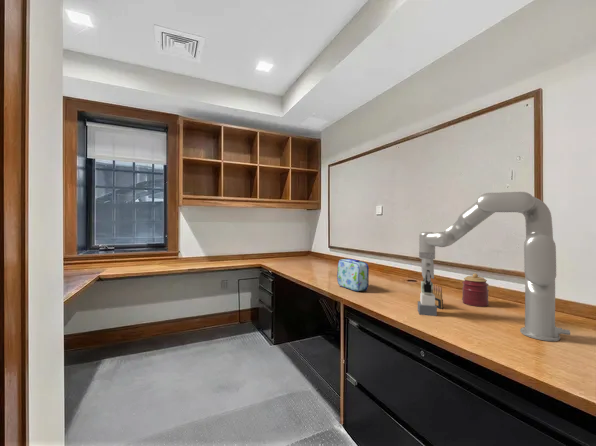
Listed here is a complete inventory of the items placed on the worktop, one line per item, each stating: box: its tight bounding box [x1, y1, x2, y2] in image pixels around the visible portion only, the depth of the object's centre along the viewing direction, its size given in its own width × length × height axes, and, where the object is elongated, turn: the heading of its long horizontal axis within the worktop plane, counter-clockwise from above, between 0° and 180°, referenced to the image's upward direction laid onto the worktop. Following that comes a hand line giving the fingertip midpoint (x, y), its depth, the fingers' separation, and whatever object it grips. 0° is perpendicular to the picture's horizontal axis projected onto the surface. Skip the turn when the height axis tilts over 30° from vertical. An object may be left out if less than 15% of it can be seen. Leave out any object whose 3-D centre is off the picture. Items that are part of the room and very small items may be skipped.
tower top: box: [419, 291, 435, 306], centre depth 146 cm, size 6×6×5 cm
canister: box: [461, 272, 489, 307], centre depth 164 cm, size 13×13×18 cm
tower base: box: [417, 300, 438, 317], centre depth 147 cm, size 8×8×5 cm
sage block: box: [420, 280, 434, 293], centre depth 146 cm, size 5×5×5 cm
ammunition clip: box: [433, 284, 444, 310], centre depth 159 cm, size 11×2×12 cm, turn 13°
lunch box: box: [336, 258, 370, 292], centre depth 201 cm, size 26×11×21 cm, turn 27°
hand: (426, 290), depth 146 cm, fingers closed on sage block, 5 cm apart
